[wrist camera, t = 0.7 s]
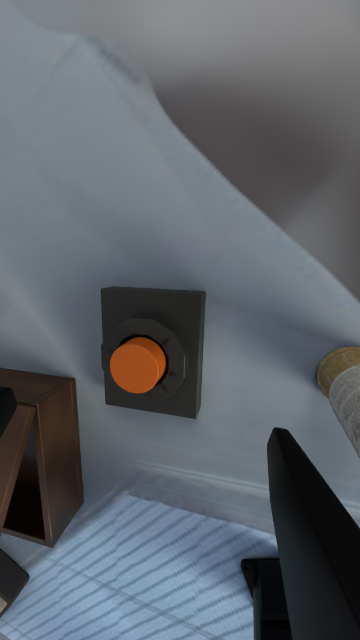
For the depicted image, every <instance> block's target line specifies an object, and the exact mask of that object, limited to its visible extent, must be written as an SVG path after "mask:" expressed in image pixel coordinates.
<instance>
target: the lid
mask: <svg viewBox="0 0 360 640" xmlns="http://www.w3.org/2000/svg"><path fill="white" fill-rule="evenodd" d="M35 410H36V407H32V406H26V405H21V404H17V408H16V411H15V413H14V415H13V416H12V418H11V420H10V422H9V424H8V426H7V428H6V429H5V431H4V433H3V435H2V437H1V439H0V536H1V532H2V529H3V525H4V522H5V518H6V514H7V511H8V507H9V504H10V500H11V496H12V493H13V489H14V486H15V482H16V479H17V475H18V471H19V468H20V464H21V461H22V457H23V453H24V450H25V446H26V443H27V439H28V436H29V432H30V428H31V425H32V421H33V418H34V414H35Z"/></svg>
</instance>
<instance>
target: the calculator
mask: <svg viewBox="0 0 360 640" xmlns="http://www.w3.org/2000/svg"><path fill="white" fill-rule="evenodd" d="M28 580H29V575H28V574H27V573H26V572H25V571H24V570H22V569H21V568H20V567H19V566H18V565H17V564H16V563H15V562H14V561H13V560H12V559H10V558H9V557H8V556H7V555H6V554H5V553H4V552H3V551H2V550H1V549H0V618H1V616H2V615H3V614H4V613H5V612H6V611H7V610H8V609H9V607H10V606H11V605H12V604H13V602H14V601H15V599H16V598H17V596H18V595H19V593H20V592H21V591H22V589H23V588H24V586H25V585H26V583H27V582H28Z"/></svg>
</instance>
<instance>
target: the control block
mask: <svg viewBox="0 0 360 640" xmlns="http://www.w3.org/2000/svg"><path fill="white" fill-rule="evenodd" d="M205 295H206V292H205V291H189V290H170V289H151V288H132V287H113V286H112V287H107V288H102V289H101V305H102V329H103V343H102V345H101V346H102V347H101V354H102V367H103V370H104V377H105V401H106V404H107V405H114V406H120V407H126V408H132V409H138V410H144V411H150V412H156V413H163V414H169V415H175V416H181V417H187V418H193V419H196V418H197V416H198V413H199V410H200V405H201V383H202V361H203V339H204V317H205ZM138 337H142V338H147V339H150V340H152V341H154V342H155V343H156V344H157V345H158V346H159V347H160V348H161V349H162V351H163V353H164V356H165V360H166V367H165V371H164V373H163V375H162V376H161V378H160V379H159V380H158V382H157V383H156V384H155V386H154V387H153V388H152V389H150V390H149V391H147V392H144V393H131V392H128V391H126V390H124V389H122V388H121V387H120V386H119V385H118V384H117V383H116V382H115V380H114V379H113V377H112V374H111V371H110V360H111V357H112V355H113V353H114V352H115V350H116V349H118V348H119V347H120V346H122V345H123V344H125V343H126V342H128V341H129V340H131V339H133V338H138Z"/></svg>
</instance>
